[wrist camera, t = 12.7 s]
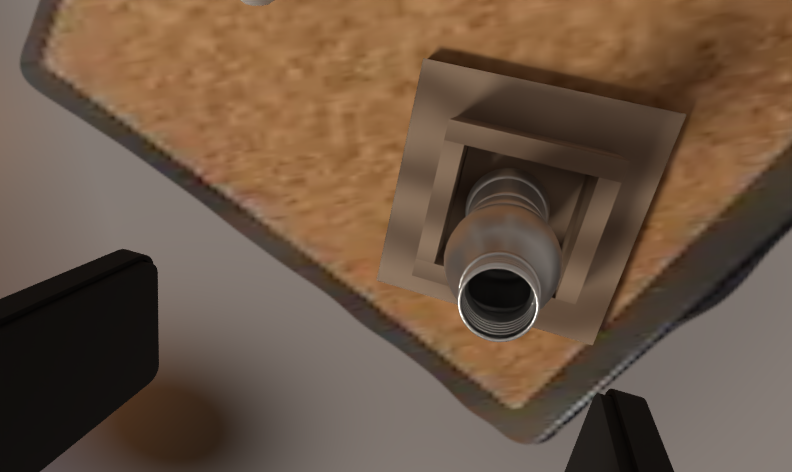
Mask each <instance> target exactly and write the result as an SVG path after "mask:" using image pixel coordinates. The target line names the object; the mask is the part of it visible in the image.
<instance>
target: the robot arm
mask: <svg viewBox="0 0 792 472" xmlns="http://www.w3.org/2000/svg"><path fill="white" fill-rule="evenodd" d="M158 349H159V345H158V272H157V268H156V266H155V265H154V264H153V261H152V259H151V258H150V257H149V256H147V255H144V254H140V253H136V252H133V251H130V250H126V249H121V250H117V251H115V252H113V253H110V254H108V255H105V256H103V257H101V258H98V259H96V260H93V261H91V262H88V263H86V264H84V265H81V266H79V267H76V268H74V269H71V270H69V271H67V272H64V273H62V274H59V275H57V276H55V277H52V278H50V279H48V280H45V281H43V282H40V283H38V284H35V285H33V286H31V287H28V288H26V289H23V290H21V291H18V292H16V293H14V294H11V295H9V296H6V297H4V298H2V299H0V472H40V471H41V470H42V469H44V468H45V467H46V466H47V465H49V464H50V463H51V462H52V461H54V460H55V459H56V458H57V457H59V456H60V455H61V454H62V453H63V452H65V451H66V450H67V449H68V448H70V447H71V446H72V445H73V444H75V443H76V442H77V441H78V440H80V439H81V438H82V437H83V436H85V435H86V434H87V433H88V432H89V431H91V430H92V429H93V428H95V427H96V426H97V425H98V424H99V423H101V422H102V421H103V420H104V419H106V418H107V417H108V416H109V415H111V414H112V413H113V412H114V411H116V410H117V409H118V408H119V407H120V406H122V405H123V404H124V403H125V402H127V401H128V400H129V399H130V398H132V397H133V396H134V395H135V394H137V393H138V392H139V391H140V390H141V389H143V388H144V387H145V386H147V385H148V384H149V383H150V382H151V381H152V380H153V379H154V377H155V376H156V373H157V371H158V367H159V350H158ZM565 472H674V470H673V468H672V465H671V463H670V460H669V458H668V455H667V453H666V450H665V448H664V445H663V442H662V440H661V438H660V435H659V432H658V430H657V427H656V425H655V422H654V420H653V417H652V415H651V412H650V410H649V407H648V404H647V402H646V400H645V399H644V398H642V397H639V396H635V395H632V394H628V393H625V392H622V391H618V390H615V389H609V390H608V391H607V392H606V394H605V395H603V394H600V393H597V394H596V395H595V396H594V398H593V400H592V403H591V405H590V408H589V410H588V413H587V416H586V418H585V421H584V423H583V426H582V429H581V431H580V433H579V436H578V439H577V441H576V444H575V446H574V449H573V451H572V454H571V457H570V459H569V462H568V464H567V467H566V469H565Z"/></svg>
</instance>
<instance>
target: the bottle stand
mask: <svg viewBox="0 0 792 472" xmlns="http://www.w3.org/2000/svg"><path fill="white" fill-rule="evenodd" d="M686 115H687V114H683V113H678V112H674V111H669V110H664V109H659V108H655V107H650V106H645V105H641V104H636V103H631V102H627V101H622V100H617V99H613V98H608V97H603V96H598V95H594V94H589V93H584V92H580V91H575V90H570V89H566V88H561V87H556V86H552V85H547V84H542V83H538V82H533V81H528V80H523V79H519V78H514V77H509V76H505V75H500V74H495V73H491V72H486V71H481V70H477V69H472V68H467V67H462V66H458V65H453V64H448V63H444V62H439V61H434V60H430V59H425V58H423V62H422V67H421V72H420V77H419V81H418V86H417V91H416V96H415V100H414V105H413V110H412V115H411V119H410V124H409V129H408V134H407V138H406V143H405V148H404V153H403V157H402V162H401V167H400V172H399V176H398V181H397V186H396V191H395V195H394V200H393V205H392V210H391V214H390V219H389V224H388V229H387V233H386V238H385V243H384V248H383V252H382V257H381V262H380V267H379V271H378V276H377V281H380V282H384V283H387V284H390V285H394V286H397V287H400V288H404V289H407V290H410V291H414V292H417V293H420V294H424V295H427V296H430V297H434V298H437V299H440V300H444V301H447V302H450V303H454V304H457V305H458V303H457V300H456V298H455V297H454V295H453V294H452V292H451V289H450V287H449V284H448V282H447V279H446V276H445V270H444V253H445V249H446V245H447V242H448V240H449V238H450V236H451V234H452V233H453V231H454V230H455V228H456V227H457V226H458V224H459V223H460V222H461V221H462V220H463V219H464V218H465V217H466V215H465V208H466V201H467V197H468V195H469V192H470V190H471V189H472V187H473V186H474V184H475V183H476V182H477V181H478V180H479V179H480V178H481V177H482V176H484V175H486V174H487V173H489V172H491V171H494V170H496V169H501V168H516V169H520V170H523V171H526V172H528V173H530V174H531V175H533V176H534V177H535V178H537V179H538V181H539V182H540V183H541V184H542V185H543V187H544V189H545V190H546V192H547V195H548V198H549V204H550V214H549V219H548V223H547V224H548V225H549V226H550V227H551V229H552V231H553V232H554V234H555V236H556V238H557V240H558V242H559V245H560V248H561V251H562V259H563V268H562V276H561V279H560V282H559V285H558V287H557V289H556V290H555V292H554V294H553V296H552V297H551V299H550V300H549V301H548V302H547V303H546V305H545V306H544V307H543V308H542V309H541V310H540V311H539V314H538V317H537V320H536V321H535V323H534V325H533V326H532V327H533V328H537V329H540V330H543V331H547V332H550V333H553V334H557V335H560V336H563V337H567V338H570V339H573V340H577V341H580V342H583V343H587V344H590V345H593V343H594V341H595V338H596V336H597V333H598V331H599V328H600V326H601V323H602V321H603V319H604V316H605V314H606V311H607V309H608V306H609V304H610V301H611V299H612V296H613V294H614V292H615V289H616V287H617V284H618V282H619V279H620V277H621V274H622V272H623V269H624V267H625V264H626V262H627V260H628V257H629V255H630V252H631V250H632V247H633V245H634V242H635V240H636V237H637V235H638V233H639V230H640V228H641V225H642V223H643V220H644V218H645V215H646V213H647V210H648V208H649V206H650V203H651V201H652V198H653V196H654V193H655V191H656V188H657V186H658V183H659V181H660V179H661V176H662V174H663V171H664V169H665V166H666V164H667V161H668V159H669V156H670V154H671V151H672V149H673V147H674V144H675V142H676V139H677V137H678V134H679V132H680V129H681V127H682V124H683V122H684V120H685V117H686Z"/></svg>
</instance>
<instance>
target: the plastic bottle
mask: <svg viewBox="0 0 792 472" xmlns="http://www.w3.org/2000/svg"><path fill="white" fill-rule="evenodd" d="M549 214H550V204H549V198H548V195H547V192H546V190H545V189H544V187H543V185H542V184H541V183H540V182H539V181H538V179H537V178H535V177H534V176H533V175H531V174H530V173H528V172H526V171H523V170H520V169H516V168H501V169H496V170H494V171H491V172H489V173H487V174H486V175H484V176H482V177H481V178H480V179H479V180H478V181H477V182H476V183H475V184H474V186H473V187H472V189H471V190H470V192H469V195H468V197H467V201H466V208H465V215H466V217H465V218H464V219H463V220H462V221H461V222H460V223H459V224H458V226H457V227H456V228H455V230H454V231H453V233H452V234H451V236H450V238H449V240H448V242H447V245H446V249H445V253H444V270H445V276H446V279H447V282H448V284H449V287H450V289H451V292H452V294H453V295H454V297H455V298H456V300H457V303H458V309H459V313H460V316H461V319H462V320H463V322H464V324H465V325H466V326H467V327H468V328H469V329H470V331H472V332H473V333H474V334H476V335H477V336H479V337H481V338H483V339H486V340H489V341H494V342H507V341H511V340H515V339H517V338H519V337H521V336H523V335H524V334H525V333H527V332H528V331H529V330H530V329H531V327H532V326H533V325H534V323H535V321H536V320H537V317H538V314H539V311H540V310H541V309H542V308H543V307H544V306H545V305H546V303H547V302H548V301H549V300H550V299H551V297H552V296H553V294H554V292H555V290H556V289H557V287H558V285H559V282H560V279H561V276H562V268H563V259H562V251H561V248H560V245H559V242H558V240H557V238H556V236H555V234H554V232H553V231H552V229H551V227H550V226H549V225H548V224H547V223H548V219H549Z"/></svg>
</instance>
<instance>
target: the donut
mask: <svg viewBox="0 0 792 472" xmlns="http://www.w3.org/2000/svg"><path fill="white" fill-rule="evenodd" d="M241 1H242V2H244V3H245V4H248V5H252V6H256V5H268V4H270V3H271V2H273V1H274V0H241Z"/></svg>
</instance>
